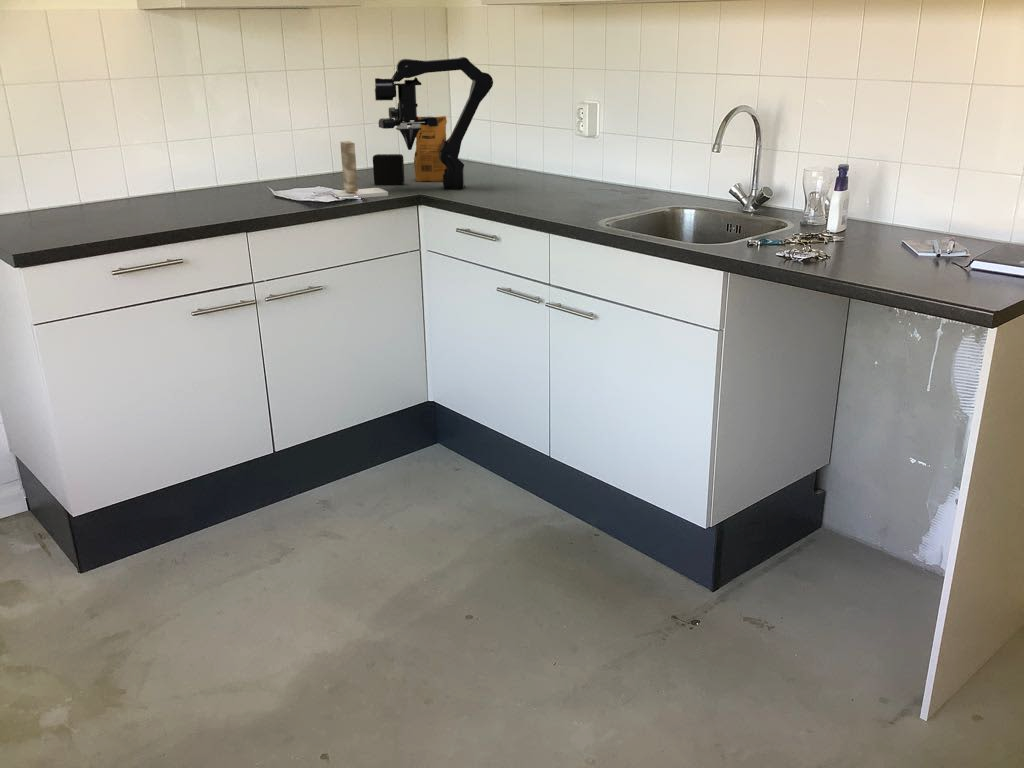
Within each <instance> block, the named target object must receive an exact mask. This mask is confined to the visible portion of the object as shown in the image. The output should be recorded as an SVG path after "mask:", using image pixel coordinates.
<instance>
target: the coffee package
mask: <svg viewBox="0 0 1024 768" xmlns="http://www.w3.org/2000/svg"><path fill="white" fill-rule="evenodd" d="M417 117H418V119H421V118H422V117H423V116H419V115H417ZM435 117H436V118H437V120H438V126H432V127H429V126H428V125H420V128H422V130H419V132H418V134H417V136H416V138H415V140H416V141H415V146H416V147H415V151H414V157H413V164H414V165H413V166H414V167H413V168H414V175H415V181H416V182H419V183H420V182H435V183H436V182H443V174H444V170H445V169H447V168H446V166H445V165H444V164H443V163H442V162H441V161H440V159H439V157H438V153H439V150H438V148H440V146H441V144H442V140H443V139H445V140H446V141H447V122H448V121H447V116H446V115H440V116H435Z"/></svg>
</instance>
